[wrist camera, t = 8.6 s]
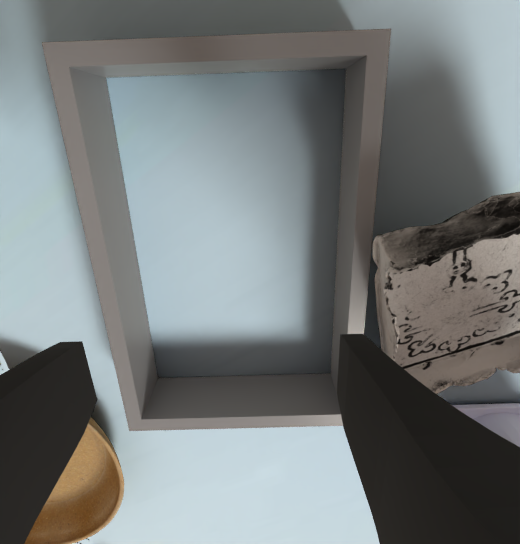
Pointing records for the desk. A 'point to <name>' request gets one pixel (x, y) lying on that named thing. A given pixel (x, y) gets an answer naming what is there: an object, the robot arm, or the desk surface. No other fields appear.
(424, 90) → the desk surface
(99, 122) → the box
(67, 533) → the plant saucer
